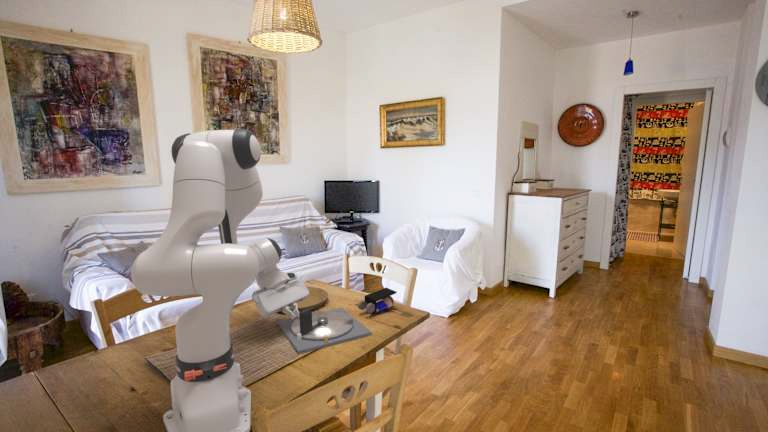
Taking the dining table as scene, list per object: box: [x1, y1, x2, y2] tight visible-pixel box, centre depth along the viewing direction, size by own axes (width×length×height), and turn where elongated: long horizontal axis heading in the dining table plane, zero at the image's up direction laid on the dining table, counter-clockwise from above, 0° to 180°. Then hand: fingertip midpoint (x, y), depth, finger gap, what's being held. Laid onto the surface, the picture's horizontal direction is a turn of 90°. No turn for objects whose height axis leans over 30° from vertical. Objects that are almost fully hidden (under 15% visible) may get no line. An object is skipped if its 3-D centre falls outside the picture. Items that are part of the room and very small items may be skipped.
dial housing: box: [276, 307, 373, 355], centre depth 129 cm, size 25×25×3 cm
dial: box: [291, 308, 353, 340], centre depth 128 cm, size 21×21×8 cm
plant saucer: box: [279, 286, 329, 313], centre depth 153 cm, size 24×24×3 cm
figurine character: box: [357, 287, 397, 317], centre depth 144 cm, size 7×8×15 cm
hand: (296, 316), depth 125 cm, fingers closed
